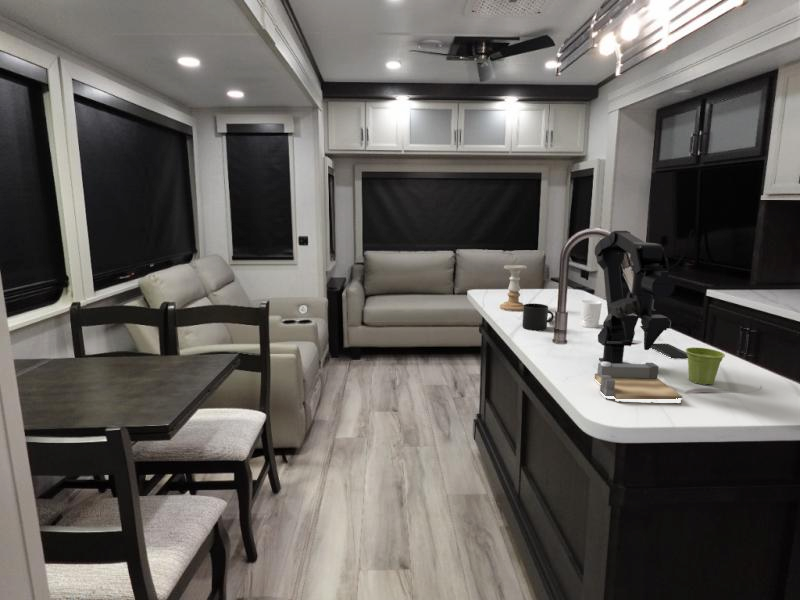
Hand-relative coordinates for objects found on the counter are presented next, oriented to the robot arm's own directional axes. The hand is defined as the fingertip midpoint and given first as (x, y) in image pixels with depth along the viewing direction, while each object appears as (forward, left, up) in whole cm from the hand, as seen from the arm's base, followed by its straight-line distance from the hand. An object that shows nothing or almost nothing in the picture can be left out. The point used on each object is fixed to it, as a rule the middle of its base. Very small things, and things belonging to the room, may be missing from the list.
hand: (636, 344), depth 140 cm
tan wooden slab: (+9, -3, -10) cm, 14 cm away
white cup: (-64, +9, -10) cm, 65 cm away
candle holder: (-96, -16, -10) cm, 97 cm away
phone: (-29, +24, -11) cm, 39 cm away
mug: (-59, -13, -10) cm, 61 cm away
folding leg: (+3, -3, -8) cm, 9 cm away
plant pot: (0, +19, -10) cm, 21 cm away
